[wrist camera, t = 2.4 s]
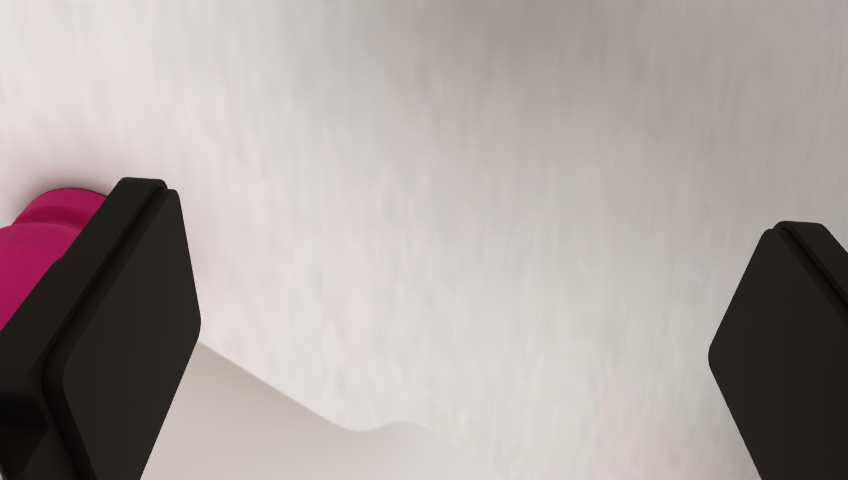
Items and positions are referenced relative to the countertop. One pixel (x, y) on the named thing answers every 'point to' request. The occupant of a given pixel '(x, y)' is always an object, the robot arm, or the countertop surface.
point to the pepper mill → (40, 242)
